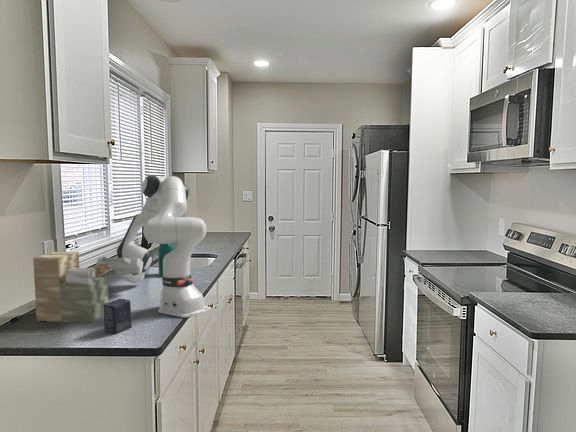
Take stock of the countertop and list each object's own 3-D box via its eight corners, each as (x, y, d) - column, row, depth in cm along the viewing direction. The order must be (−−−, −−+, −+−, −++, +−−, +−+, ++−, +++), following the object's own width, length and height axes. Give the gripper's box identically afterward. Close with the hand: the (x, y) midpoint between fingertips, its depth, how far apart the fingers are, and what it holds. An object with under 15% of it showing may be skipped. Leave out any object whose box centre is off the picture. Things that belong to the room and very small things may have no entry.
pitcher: (162, 273, 247) (161, 235, 245) (177, 273, 247) (176, 236, 245) (157, 277, 238) (155, 238, 236) (172, 277, 237) (171, 238, 235)
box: (120, 325, 161) (119, 298, 160) (132, 327, 159) (131, 299, 158) (104, 332, 154) (102, 303, 153) (115, 334, 152) (114, 305, 151)
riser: (58, 310, 180) (55, 251, 177) (108, 311, 178) (106, 252, 176) (36, 321, 166) (33, 258, 163) (91, 322, 164) (88, 258, 162)
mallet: (95, 270, 187) (95, 259, 187) (115, 270, 187) (115, 259, 187) (66, 283, 165) (65, 270, 164) (88, 283, 164) (88, 270, 164)
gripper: (105, 261, 208) (92, 251, 196) (146, 261, 207) (135, 252, 194) (103, 273, 206) (89, 264, 193) (144, 274, 204) (133, 265, 192)
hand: (112, 258), depth 194 cm, fingers open, 8 cm apart
